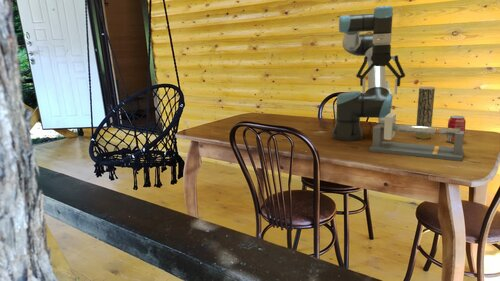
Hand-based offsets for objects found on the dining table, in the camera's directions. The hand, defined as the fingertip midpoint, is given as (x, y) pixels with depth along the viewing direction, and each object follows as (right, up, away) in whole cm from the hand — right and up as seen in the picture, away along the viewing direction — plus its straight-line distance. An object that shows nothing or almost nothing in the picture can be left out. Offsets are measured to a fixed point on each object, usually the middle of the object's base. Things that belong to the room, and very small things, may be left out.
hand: (379, 93), depth 161 cm
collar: (+5, -19, +1) cm, 20 cm away
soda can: (+39, -22, +9) cm, 45 cm away
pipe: (+14, -18, -6) cm, 23 cm away
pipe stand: (+14, -26, -4) cm, 30 cm away
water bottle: (+22, -11, +53) cm, 59 cm away
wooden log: (+28, -20, +19) cm, 39 cm away
